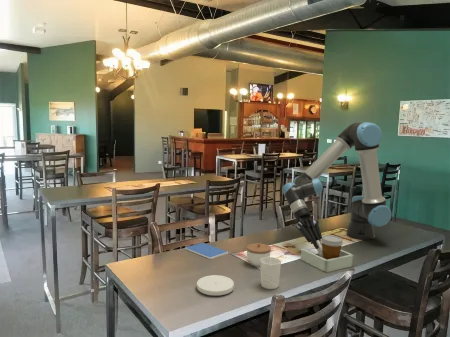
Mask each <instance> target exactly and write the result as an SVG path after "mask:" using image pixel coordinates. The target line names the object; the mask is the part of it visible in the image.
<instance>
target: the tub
mask: <svg viewBox="0 0 450 337" xmlns="http://www.w3.org/2000/svg"><path fill="white" fill-rule="evenodd" d="M300 260H301V261H303V262H304V263H307V264H309V265H311V266H312V267H314V268H316V269H319V270H320V271H323V272H324V273H331V272H333V271H339V270H342V269H346V268H350V267H351V268H352V267H354V264H355V255H354V254H353V253H350V252H349V251H345V250H343V249H341V251H340V255H339V257H337V258H333V259H328V260H326V259H324V258H323V256H320V255H319V254H318V255H317V254H315V253H313V252H311V251H309V250H306V249H305V248H301V249H300Z"/></svg>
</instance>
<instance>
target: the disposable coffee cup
mask: <svg viewBox="0 0 450 337" xmlns="http://www.w3.org/2000/svg"><path fill="white" fill-rule="evenodd" d="M320 241H321V243H322V258H324V259H326V260H328V259H333V258H337V257H339V255H340V251H341V250H342V246H343V244H344V241H343V238H342V237H339V236H337V235H331V234H326V235H322V239H321V240H320Z"/></svg>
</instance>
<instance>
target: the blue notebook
mask: <svg viewBox="0 0 450 337" xmlns="http://www.w3.org/2000/svg"><path fill="white" fill-rule="evenodd" d="M184 250H186V251H188V252H191V253H193V254H196V255H199V256H201V257H204V258H206V259H208V260H212V259H216V258H219V257H222V256H225V255H228V254H229V251H227V250H224V249H223V248H222V249H221V248H219V247H217V246H216V247H215V246H213V245H211V244H207V243H205V242H200V243H196V244H191V245H190V246H185V247H184Z"/></svg>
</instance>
